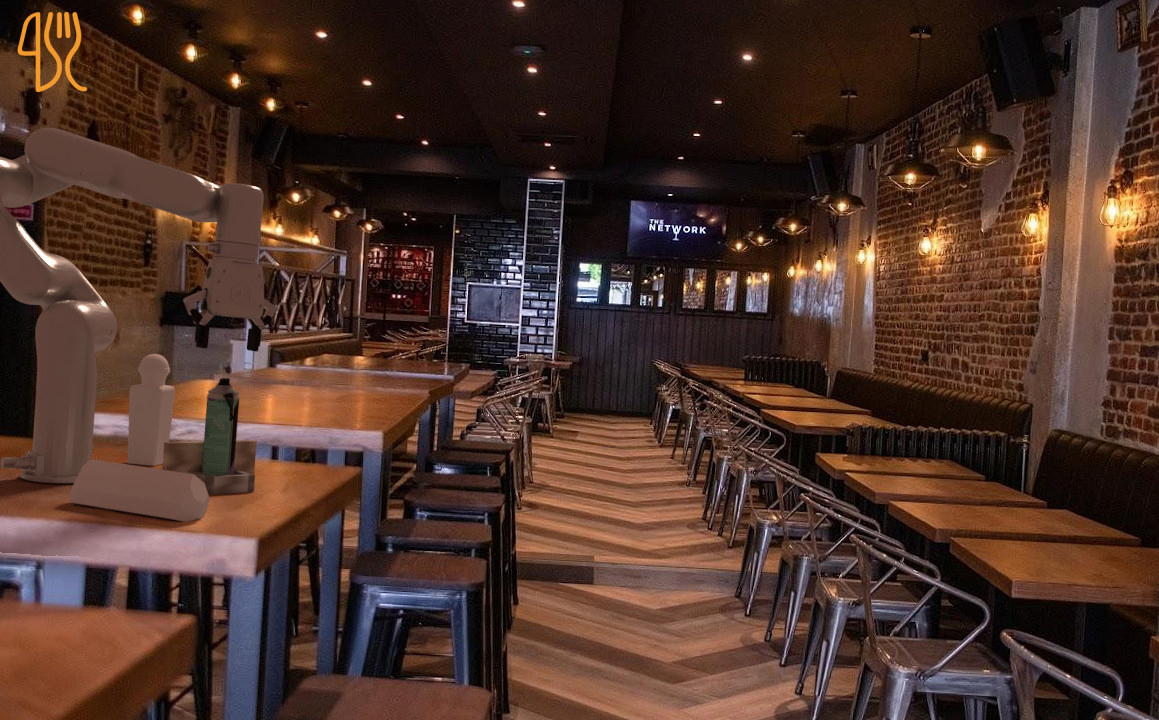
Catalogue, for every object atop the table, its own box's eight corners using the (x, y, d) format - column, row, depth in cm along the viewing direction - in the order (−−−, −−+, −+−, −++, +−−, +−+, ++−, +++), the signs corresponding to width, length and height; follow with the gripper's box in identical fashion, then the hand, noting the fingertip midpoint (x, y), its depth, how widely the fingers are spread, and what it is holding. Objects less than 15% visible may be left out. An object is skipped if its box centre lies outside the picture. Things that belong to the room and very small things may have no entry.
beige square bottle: (139, 459, 212) (147, 352, 212) (170, 462, 212) (178, 355, 211) (123, 463, 206) (131, 352, 205) (155, 466, 205) (163, 355, 205)
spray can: (239, 489, 189) (247, 379, 188) (216, 492, 184) (225, 379, 183) (216, 484, 191) (224, 376, 191) (193, 487, 186) (201, 376, 186)
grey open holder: (184, 495, 178) (187, 449, 178) (160, 486, 185) (164, 442, 185) (274, 490, 190) (277, 447, 190) (249, 482, 197) (252, 440, 197)
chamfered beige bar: (51, 481, 162) (180, 501, 155) (83, 454, 168) (208, 473, 160) (66, 518, 166) (193, 540, 158) (97, 491, 171) (220, 511, 164)
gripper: (199, 248, 177) (190, 348, 178) (290, 260, 189) (281, 353, 190) (180, 247, 182) (171, 344, 183) (269, 259, 195) (261, 350, 195)
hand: (227, 349), depth 186 cm, fingers open, 9 cm apart
